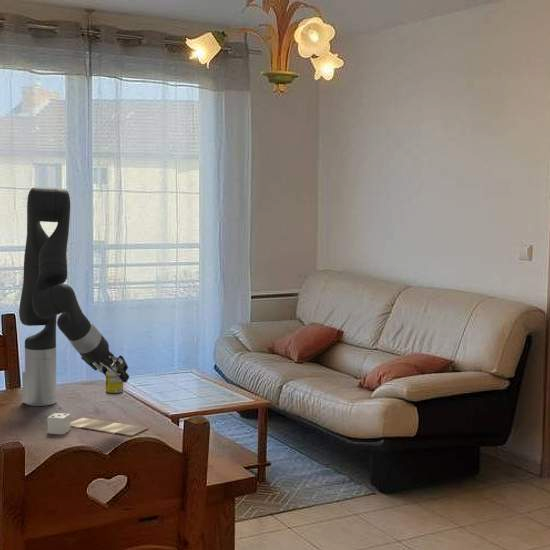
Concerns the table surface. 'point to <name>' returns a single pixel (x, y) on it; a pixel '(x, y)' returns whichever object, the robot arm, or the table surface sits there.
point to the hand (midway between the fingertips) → (119, 378)
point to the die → (58, 423)
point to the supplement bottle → (113, 384)
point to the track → (107, 427)
